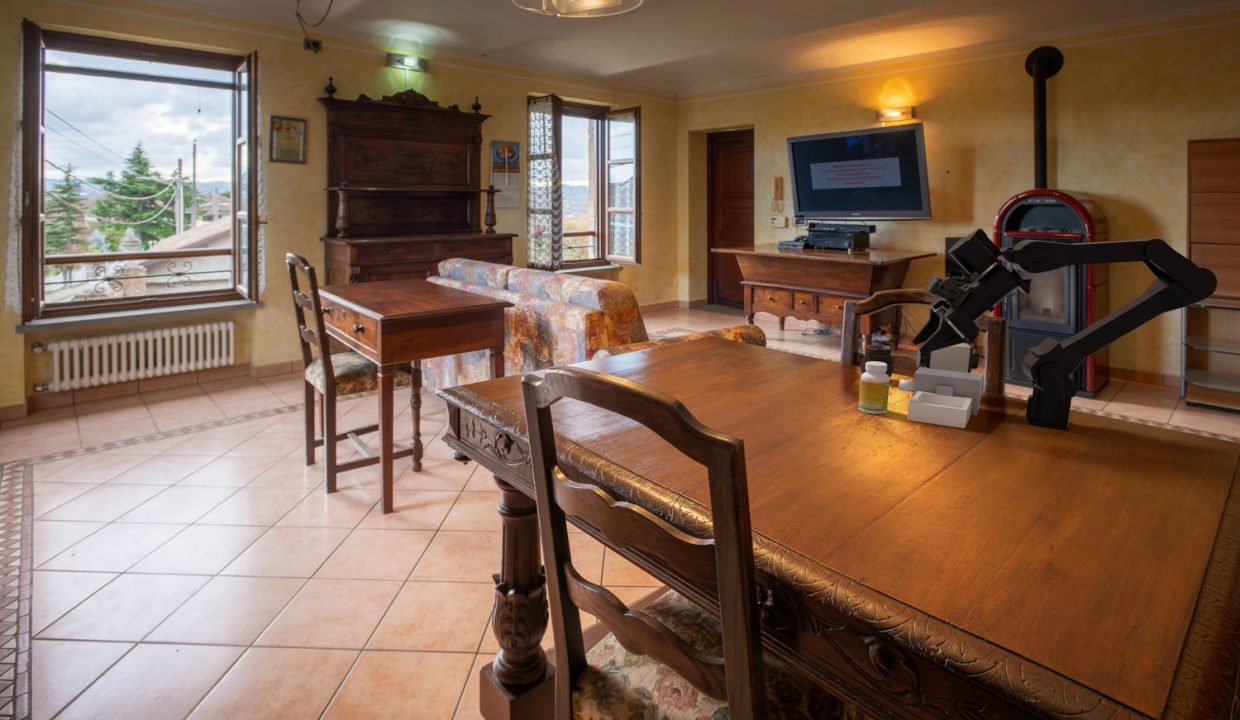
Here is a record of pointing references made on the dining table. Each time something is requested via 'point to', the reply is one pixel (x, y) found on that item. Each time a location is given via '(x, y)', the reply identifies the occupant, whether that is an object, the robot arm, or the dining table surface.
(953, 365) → the pneumatic valve
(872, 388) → the supplement bottle
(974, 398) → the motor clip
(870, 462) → the dining table surface
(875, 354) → the mate gourd
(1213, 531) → the dining table surface
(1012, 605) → the dining table surface
